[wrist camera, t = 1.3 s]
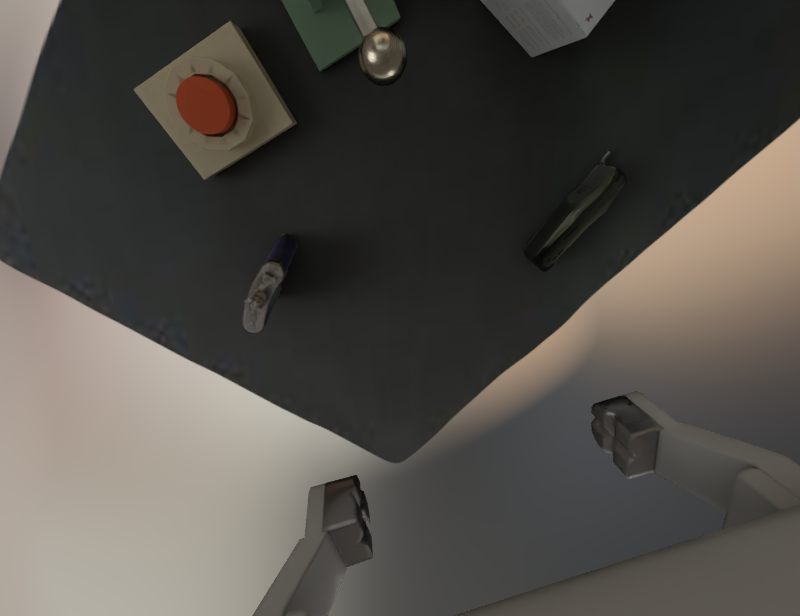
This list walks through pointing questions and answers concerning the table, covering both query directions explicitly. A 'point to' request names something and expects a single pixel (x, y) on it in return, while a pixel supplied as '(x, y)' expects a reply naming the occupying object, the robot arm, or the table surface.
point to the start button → (205, 105)
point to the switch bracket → (334, 26)
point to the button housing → (247, 84)
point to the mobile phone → (575, 214)
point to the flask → (268, 284)
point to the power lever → (377, 47)
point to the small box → (547, 21)
